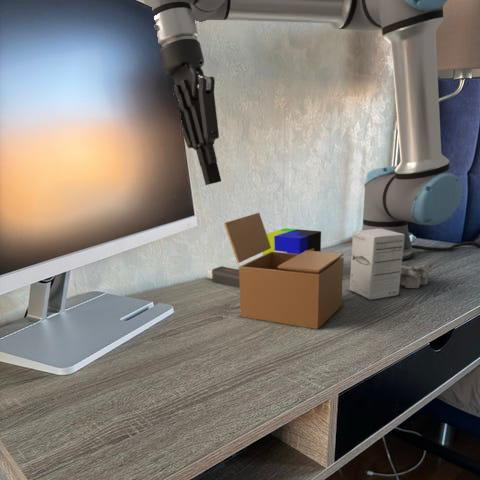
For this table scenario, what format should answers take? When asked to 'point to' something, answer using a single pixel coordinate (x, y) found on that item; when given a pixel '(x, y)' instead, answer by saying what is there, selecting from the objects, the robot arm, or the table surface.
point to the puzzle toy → (294, 241)
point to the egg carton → (414, 276)
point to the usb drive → (225, 276)
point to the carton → (292, 287)
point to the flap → (247, 236)
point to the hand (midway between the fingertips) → (213, 183)
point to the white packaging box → (376, 263)
